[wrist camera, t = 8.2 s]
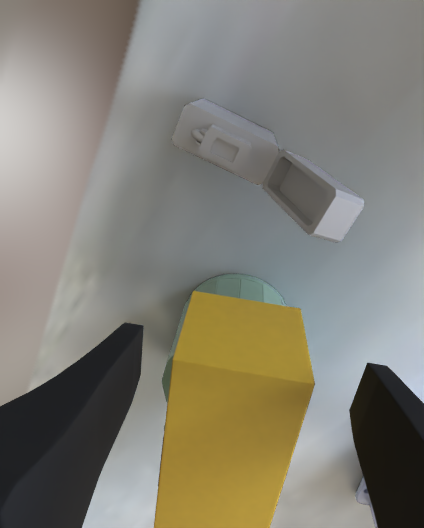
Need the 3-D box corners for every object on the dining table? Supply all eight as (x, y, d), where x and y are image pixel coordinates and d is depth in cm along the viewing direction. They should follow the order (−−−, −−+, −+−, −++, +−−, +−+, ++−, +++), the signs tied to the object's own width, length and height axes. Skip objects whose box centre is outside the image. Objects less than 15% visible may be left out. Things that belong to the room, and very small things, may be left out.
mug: (227, 252, 23) (218, 307, 17) (312, 316, 24) (329, 387, 18) (142, 348, 26) (112, 419, 21) (220, 400, 27) (211, 480, 22)
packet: (258, 468, 21) (258, 564, 17) (171, 452, 21) (151, 543, 17) (301, 308, 17) (315, 384, 13) (192, 290, 17) (171, 359, 13)
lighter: (186, 130, 20) (146, 160, 13) (199, 96, 19) (166, 107, 12) (311, 191, 21) (342, 252, 13) (329, 160, 20) (371, 206, 13)
